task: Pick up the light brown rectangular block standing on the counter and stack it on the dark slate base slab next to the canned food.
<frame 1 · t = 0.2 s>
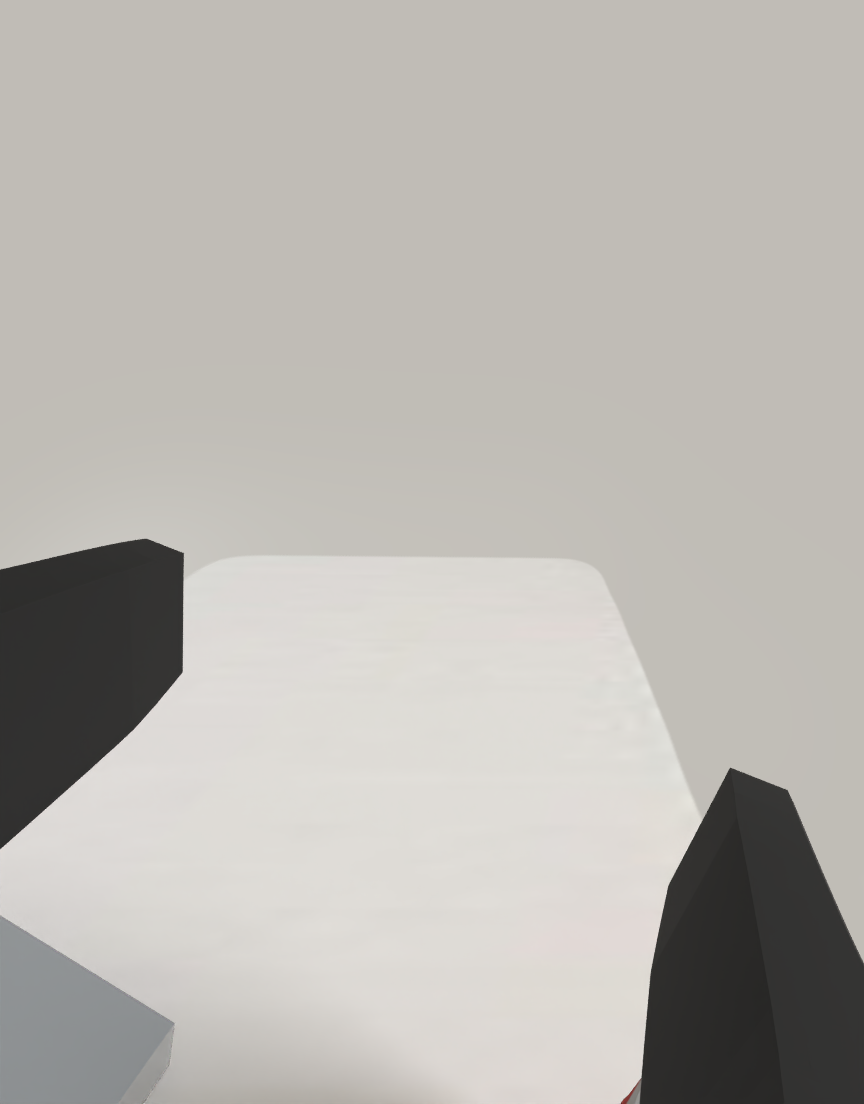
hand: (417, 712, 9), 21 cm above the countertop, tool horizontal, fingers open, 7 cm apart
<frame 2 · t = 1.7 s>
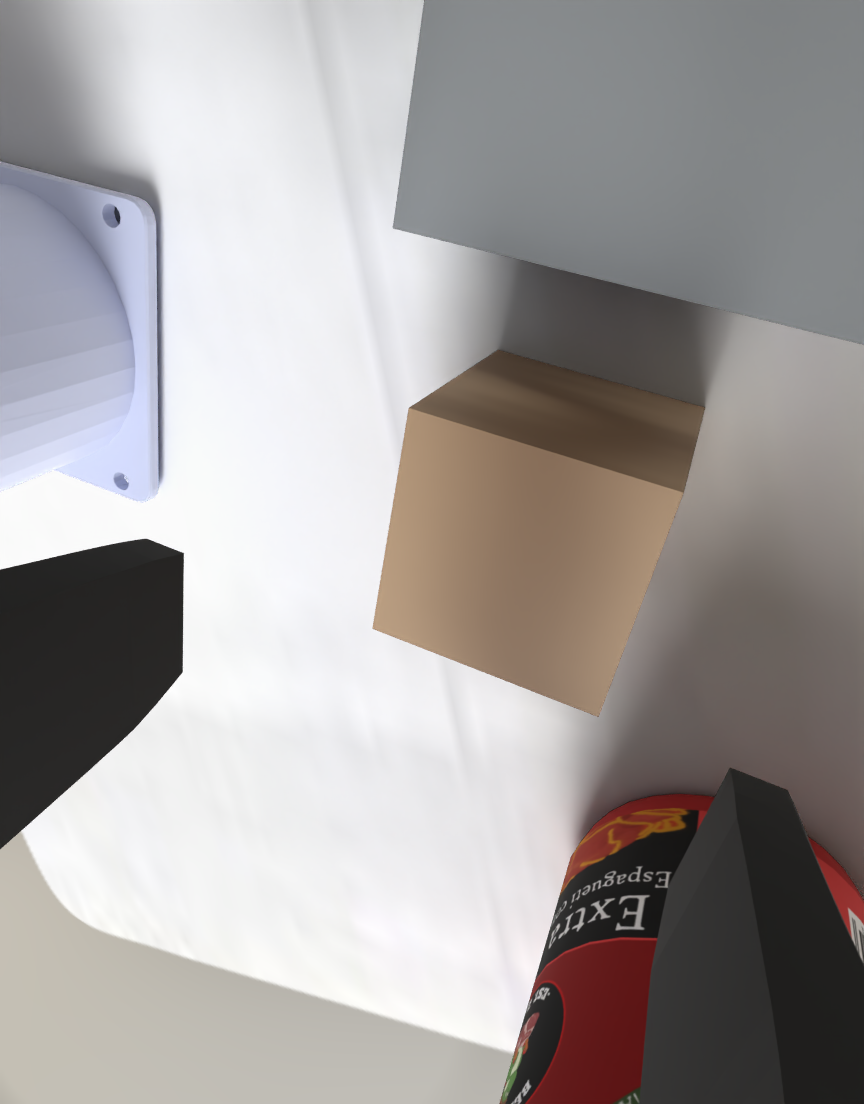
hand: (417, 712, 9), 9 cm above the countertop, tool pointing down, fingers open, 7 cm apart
light brown rectangular block: (570, 473, 17), on the countertop
canned food: (714, 893, 21), on the countertop
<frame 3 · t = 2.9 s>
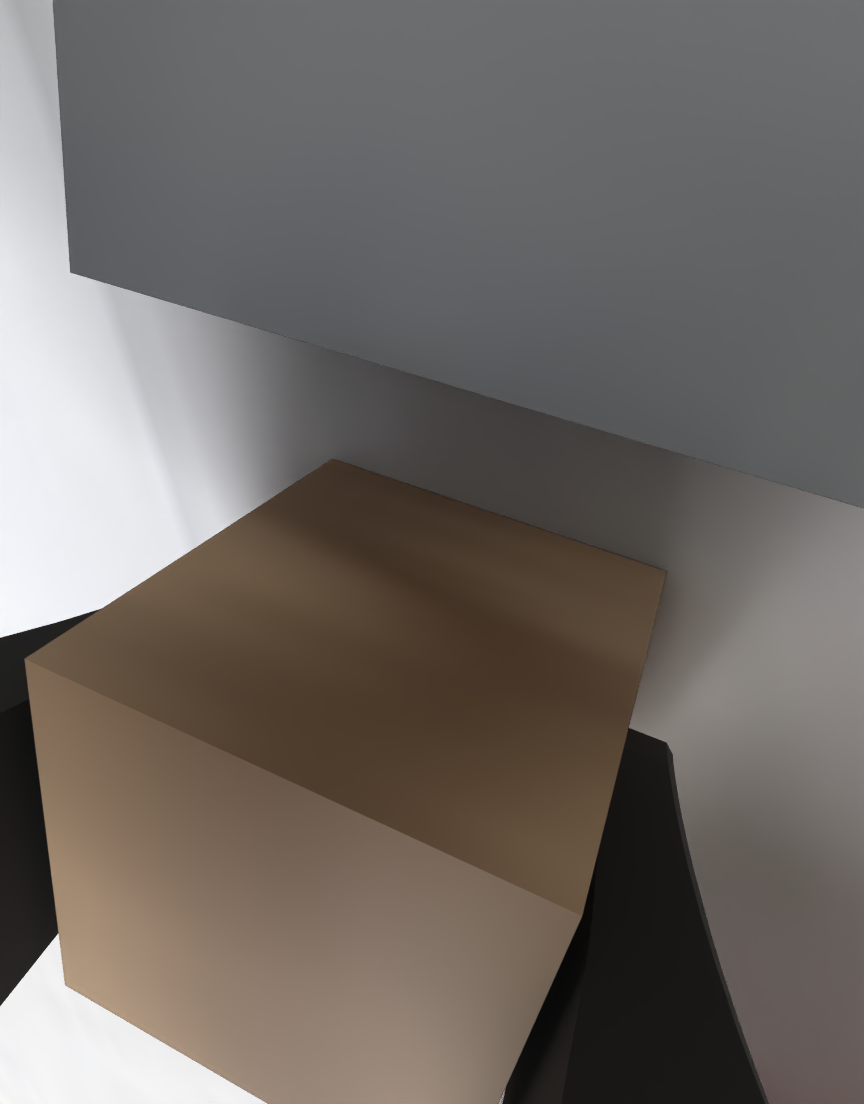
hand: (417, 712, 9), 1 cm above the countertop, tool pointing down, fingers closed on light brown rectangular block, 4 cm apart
light brown rectangular block: (456, 652, 11), on the countertop, touching gripper
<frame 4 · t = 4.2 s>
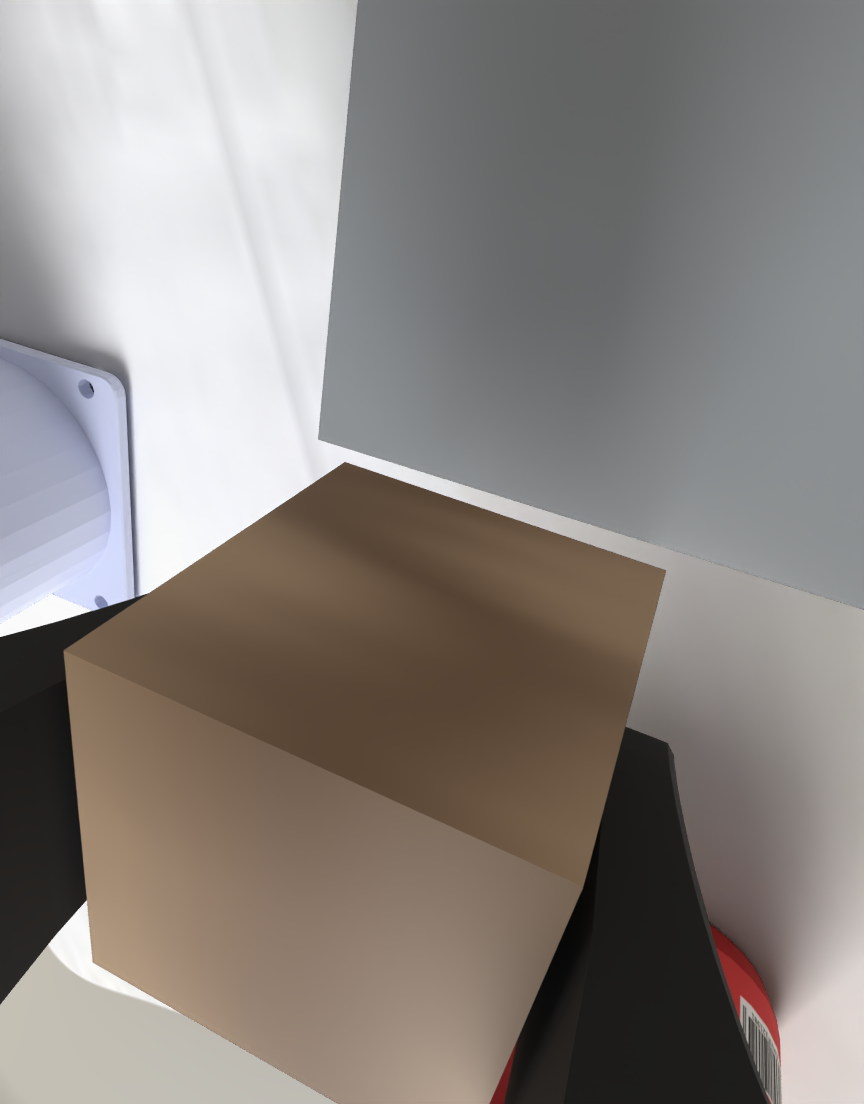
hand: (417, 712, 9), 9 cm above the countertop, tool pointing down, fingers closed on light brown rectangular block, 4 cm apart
light brown rectangular block: (463, 648, 11), point 7 cm above the countertop, touching gripper
canned food: (638, 969, 23), on the countertop
slate base: (688, 240, 14), on the countertop
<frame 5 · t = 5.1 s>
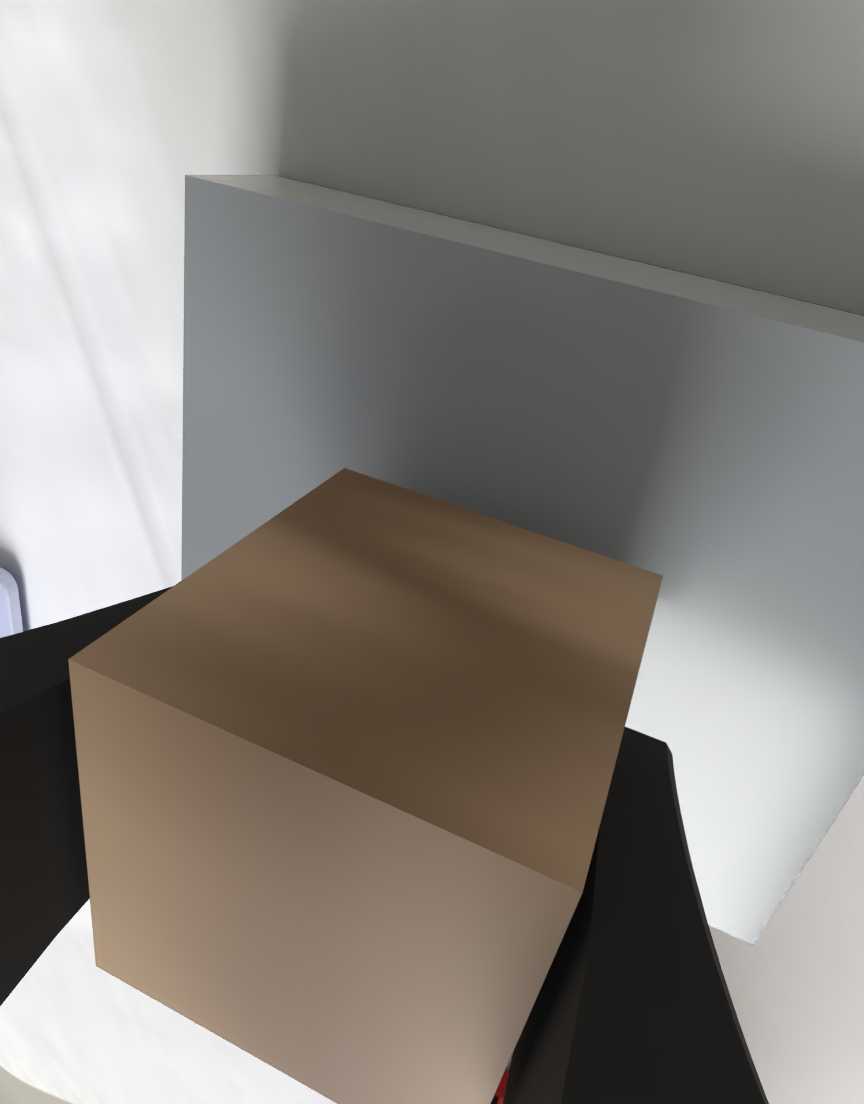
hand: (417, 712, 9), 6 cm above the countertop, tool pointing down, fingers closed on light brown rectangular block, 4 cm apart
light brown rectangular block: (462, 651, 11), point 4 cm above the countertop, touching gripper
slate base: (533, 532, 14), on the countertop
when the fingers open (5 cm above the countertop, at t = 5.6 s): light brown rectangular block drops 1 cm, resting on slate base.
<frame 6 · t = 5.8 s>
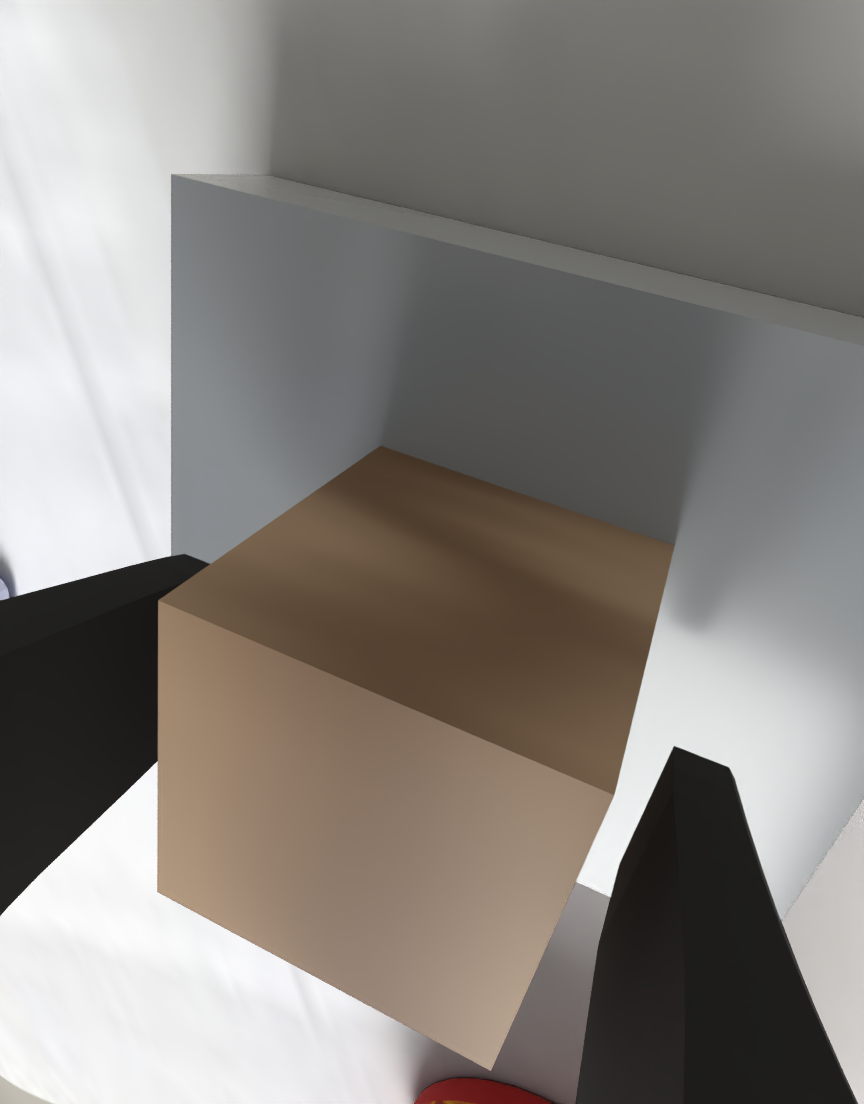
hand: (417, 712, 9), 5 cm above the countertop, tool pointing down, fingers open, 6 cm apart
light brown rectangular block: (485, 618, 12), point 2 cm above the countertop, touching slate base
slate base: (529, 539, 14), on the countertop
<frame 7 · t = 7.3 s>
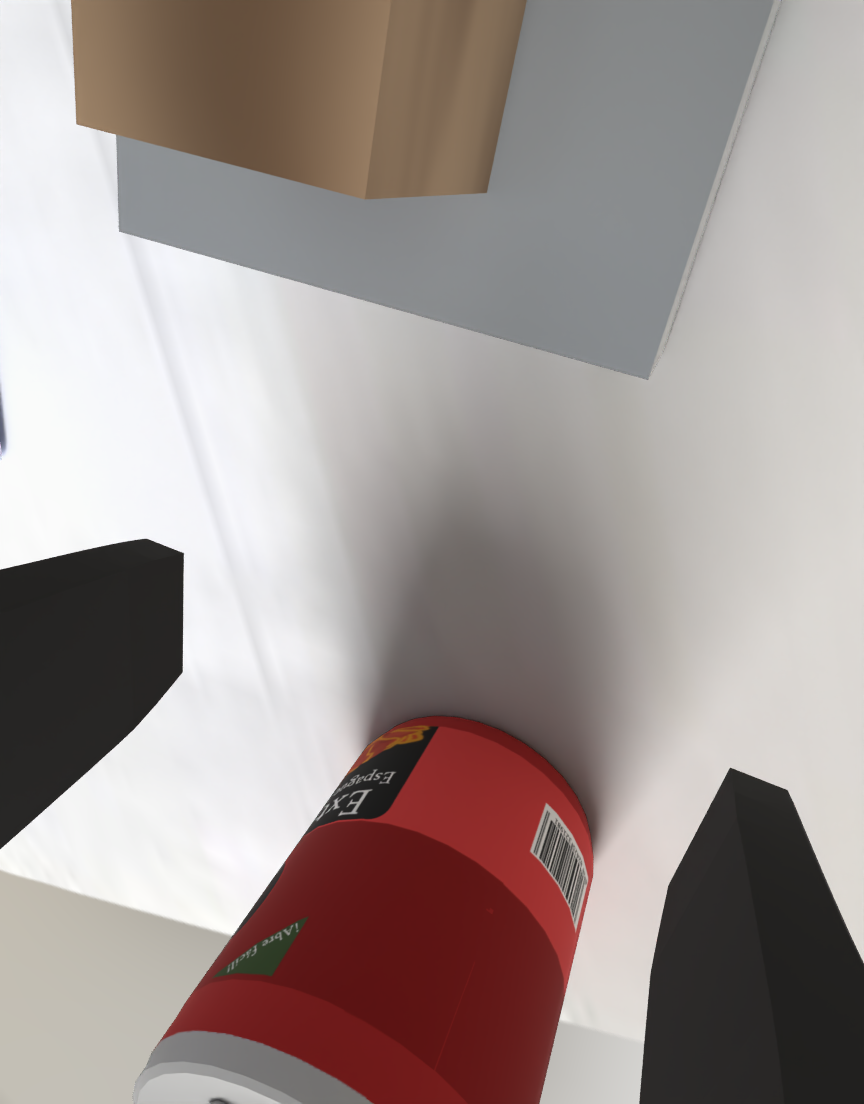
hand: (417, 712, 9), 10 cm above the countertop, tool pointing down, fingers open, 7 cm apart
light brown rectangular block: (395, 21, 13), point 2 cm above the countertop, touching slate base
canned food: (477, 806, 24), on the countertop
slate base: (447, 25, 15), on the countertop
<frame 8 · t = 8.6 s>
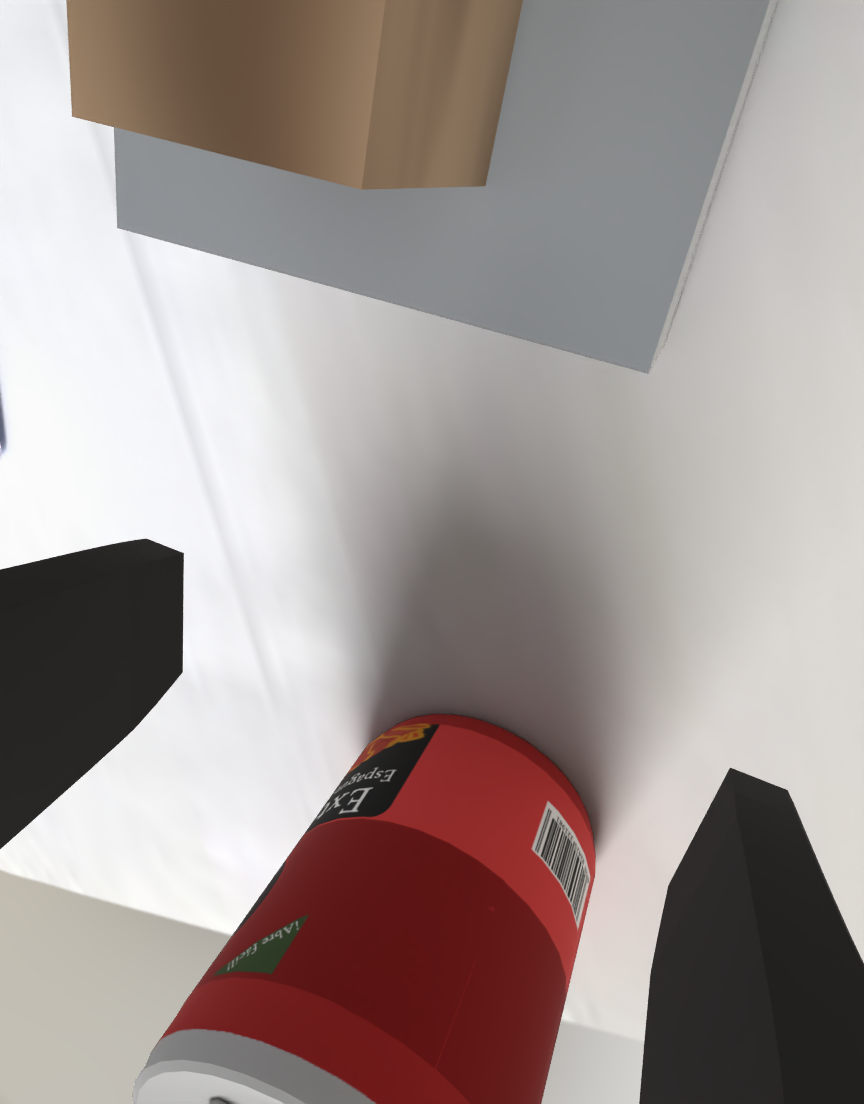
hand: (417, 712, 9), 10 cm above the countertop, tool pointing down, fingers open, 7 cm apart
light brown rectangular block: (392, 14, 13), point 2 cm above the countertop, touching slate base
canned food: (478, 804, 24), on the countertop
slate base: (445, 19, 15), on the countertop
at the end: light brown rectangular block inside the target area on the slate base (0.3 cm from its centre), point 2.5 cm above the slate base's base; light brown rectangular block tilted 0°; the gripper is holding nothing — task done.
